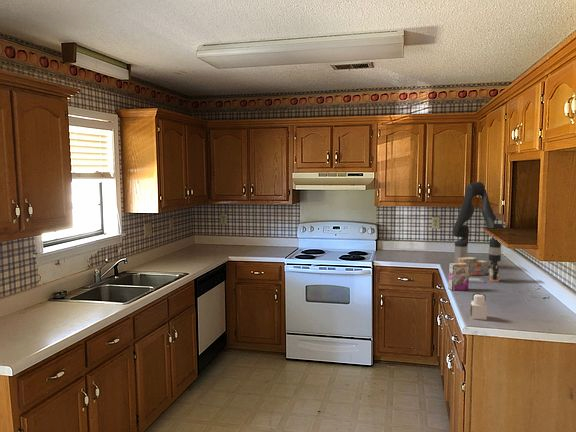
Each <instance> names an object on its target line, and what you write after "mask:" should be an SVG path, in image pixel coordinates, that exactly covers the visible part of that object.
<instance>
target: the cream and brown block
mask: <svg viewBox="0 0 576 432" xmlns="http://www.w3.org/2000/svg"><path fill="white" fill-rule="evenodd" d="M495 272H496V271H495ZM499 277H500V269H498V274H497V280H493V270H492V269H491V267H490V268H489V269H488V280H489V282H492V283H499V282H500V280H499Z"/></svg>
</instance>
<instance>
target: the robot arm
mask: <svg viewBox="0 0 576 432" xmlns="http://www.w3.org/2000/svg"><path fill="white" fill-rule="evenodd" d="M476 196H479V197H480V199H481V208H480V211H481V214H482V216H483V218H484V222H485V225H486V226H485V227H486V229H487V228H504V229H505V227H504V225H503V224H502V223H495V221H496V220H497V216H496V214H495V213H494V214H495V215H494V214H493V212H494V209H493V207H492V206H491V203H490V199H489V197H488V193H487V190H486V187H485V185H484V183H483V182H482V181H475V182H471V183H468V184H467V186H466V188H465V192H464V197H463V201H462V204H461V206H460V210H459V213H458V216H457V219H456V221H455V224H454V226H453V228H452V236H454V237H455V238H461V239H459V240H457V241H455V242H454V256H453V258H454V261H453V262H454V263H457V259H458V258H464V257H468V249H469V248H468V245H469V238H470V237H469V236H470V235H469V234H470V229H469V228H470V227H469V226H468V225H467V224H465V223H466V222H468V221H469V220H471V218H472V217H473V215H474V212H475V210H476V209H475V205H474V203H473V201H472V200H473V198H474V197H476ZM501 258H502V243H501V244H500V243H499V242H498V241H497V240H495V239H494V238H493V237H491V238H490V239H489V248H488V262H490V268H491V269H492V270H493V280H497V274H498V270H499V267H500V266H499V264H498V263H499V262H501V261H502V259H501ZM495 271H496V272H495Z"/></svg>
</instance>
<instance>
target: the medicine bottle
mask: <svg viewBox="0 0 576 432" xmlns="http://www.w3.org/2000/svg"><path fill="white" fill-rule="evenodd" d="M486 300H487V299H486V294H484V293H478V292H476V293H473V294H472V301H470V309H469V310H470V312H469V313H470V315H469V316H470V318H471V319H472V320H479V321H480V320H484V321H487V320H488V305H487V303H486Z"/></svg>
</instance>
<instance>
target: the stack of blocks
mask: <svg viewBox="0 0 576 432" xmlns="http://www.w3.org/2000/svg"><path fill="white" fill-rule="evenodd" d="M457 263H467V264H469V277H471V276H472V275H473V276H483V275H485V276H486V275H489V261H487V260H482V259H481V260H478V257H474V256H467V257H464V258H458V259H457Z"/></svg>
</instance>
